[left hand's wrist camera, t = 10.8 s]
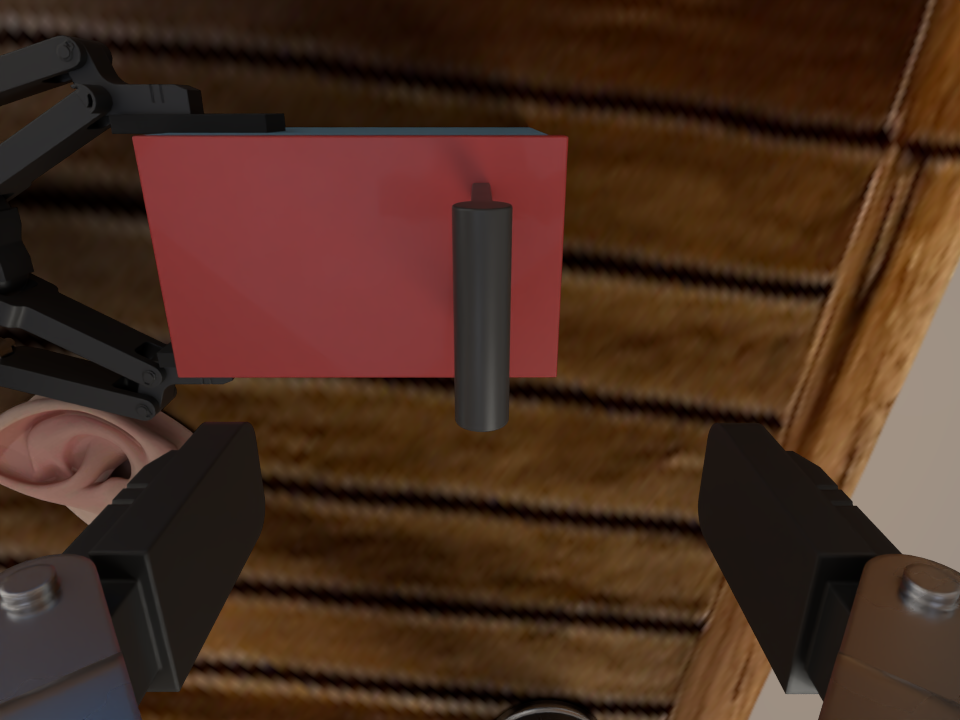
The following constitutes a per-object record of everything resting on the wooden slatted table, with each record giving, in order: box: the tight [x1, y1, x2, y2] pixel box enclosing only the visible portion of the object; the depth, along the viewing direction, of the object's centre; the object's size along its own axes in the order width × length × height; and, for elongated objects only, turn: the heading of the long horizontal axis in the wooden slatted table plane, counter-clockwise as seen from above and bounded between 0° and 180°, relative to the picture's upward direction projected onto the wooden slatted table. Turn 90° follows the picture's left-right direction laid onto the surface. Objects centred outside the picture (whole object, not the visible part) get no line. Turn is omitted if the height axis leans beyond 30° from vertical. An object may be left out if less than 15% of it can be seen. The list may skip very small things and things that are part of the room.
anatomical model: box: [0, 395, 193, 525], centre depth 39 cm, size 13×4×12 cm
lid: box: [132, 135, 568, 432], centre depth 22 cm, size 16×10×9 cm, turn 90°
